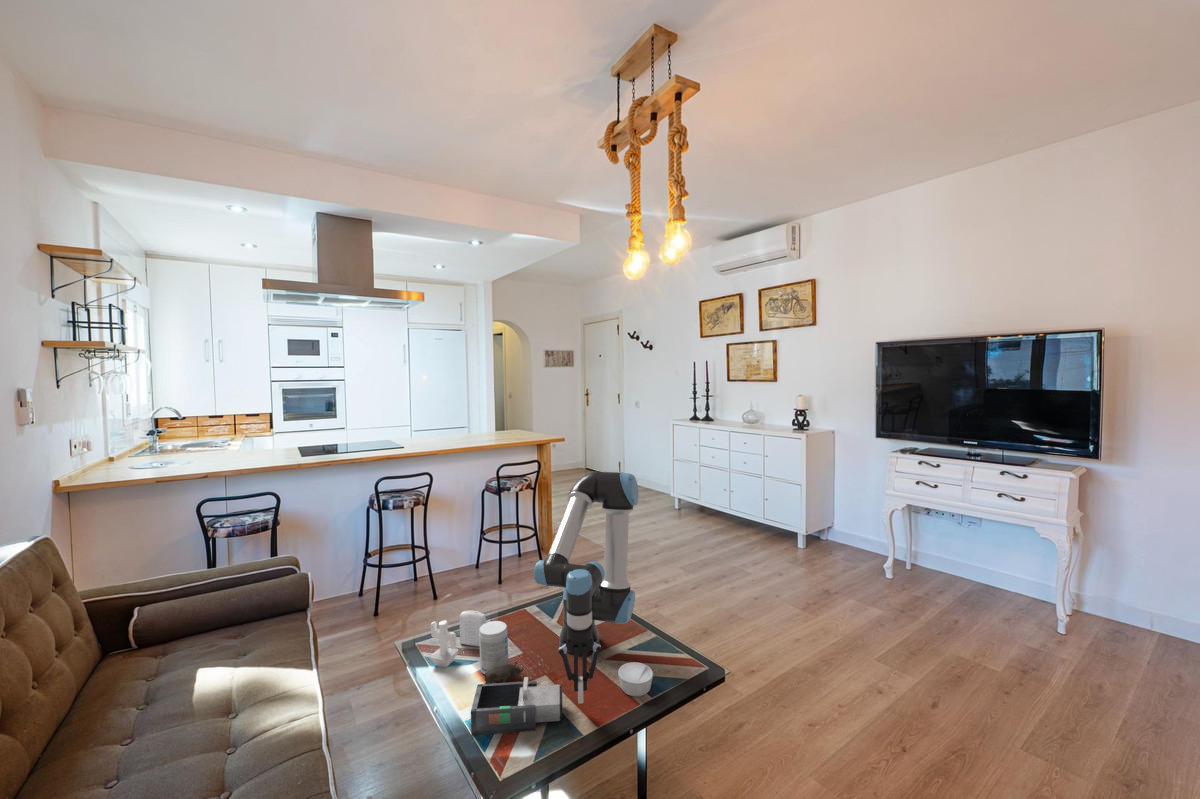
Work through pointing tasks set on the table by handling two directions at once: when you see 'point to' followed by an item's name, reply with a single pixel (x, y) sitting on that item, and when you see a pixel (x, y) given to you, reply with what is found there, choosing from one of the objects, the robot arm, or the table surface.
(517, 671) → the rhino figurine
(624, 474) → the robot arm
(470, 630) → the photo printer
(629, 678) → the ramekin
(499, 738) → the table surface
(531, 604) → the table surface
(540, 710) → the plunger
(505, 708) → the gauge housing
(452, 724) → the table surface
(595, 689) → the table surface
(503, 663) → the supplement tub
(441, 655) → the figurine
